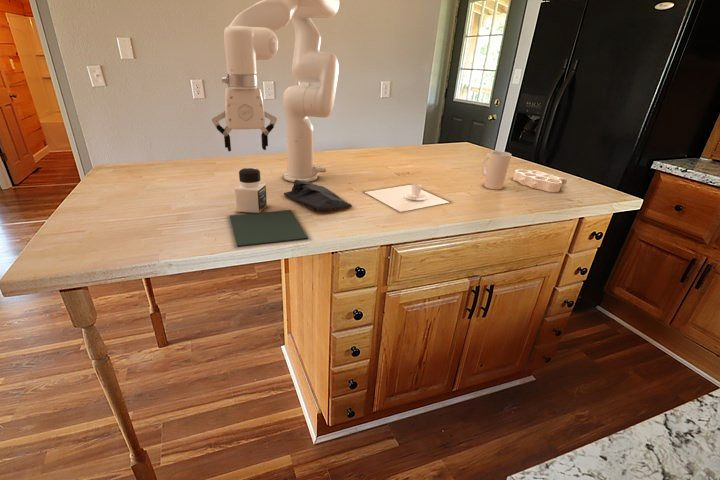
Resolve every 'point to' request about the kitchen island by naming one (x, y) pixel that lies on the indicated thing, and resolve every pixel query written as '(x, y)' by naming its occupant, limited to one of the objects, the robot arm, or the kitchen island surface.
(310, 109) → the robot arm
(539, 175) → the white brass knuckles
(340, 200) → the black fabric pouch
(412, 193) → the teacup and saucer
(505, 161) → the mug
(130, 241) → the kitchen island surface
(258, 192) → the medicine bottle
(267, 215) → the mat
